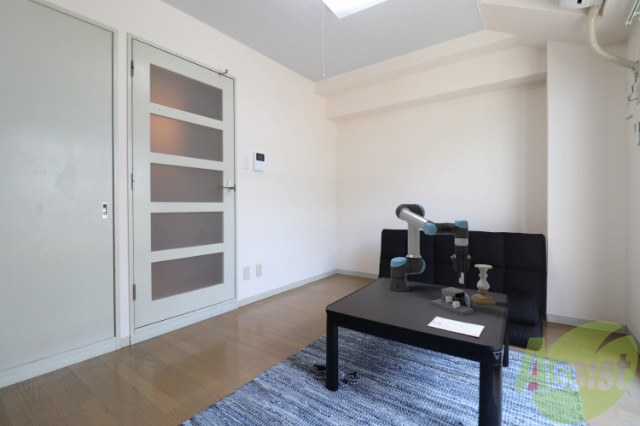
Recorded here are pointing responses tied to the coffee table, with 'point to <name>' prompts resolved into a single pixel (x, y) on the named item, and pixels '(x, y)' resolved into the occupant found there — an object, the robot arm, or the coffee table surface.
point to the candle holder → (483, 287)
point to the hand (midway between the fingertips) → (461, 282)
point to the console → (449, 306)
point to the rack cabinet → (453, 294)
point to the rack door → (467, 300)
